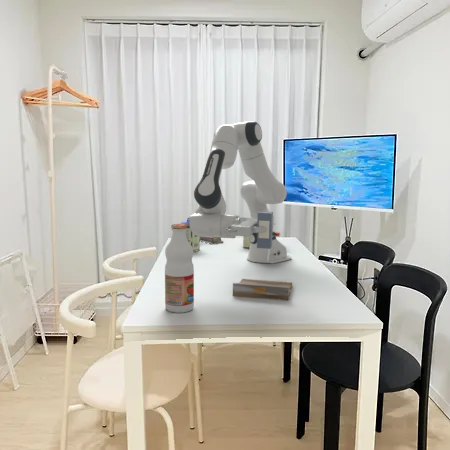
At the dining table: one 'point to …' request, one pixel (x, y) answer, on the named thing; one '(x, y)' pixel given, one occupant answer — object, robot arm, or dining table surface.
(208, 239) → the packaged product
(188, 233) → the coffee can
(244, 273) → the dining table surface
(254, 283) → the shelf board
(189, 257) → the fruit juice
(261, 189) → the robot arm
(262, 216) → the carton
